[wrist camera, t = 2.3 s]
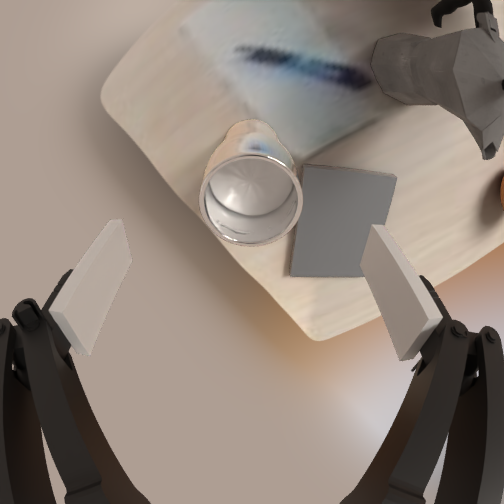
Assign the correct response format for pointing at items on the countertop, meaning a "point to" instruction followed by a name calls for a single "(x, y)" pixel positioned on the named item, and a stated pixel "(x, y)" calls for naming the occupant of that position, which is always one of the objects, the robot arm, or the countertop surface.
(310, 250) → the slate board
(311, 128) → the countertop surface
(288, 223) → the beer glass
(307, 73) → the countertop surface
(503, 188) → the onion
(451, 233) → the countertop surface
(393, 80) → the coffeepot
